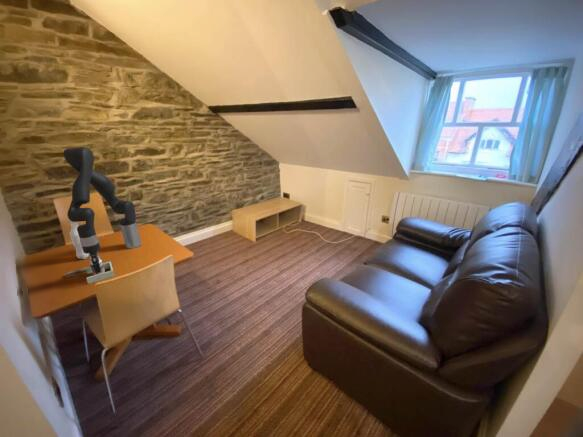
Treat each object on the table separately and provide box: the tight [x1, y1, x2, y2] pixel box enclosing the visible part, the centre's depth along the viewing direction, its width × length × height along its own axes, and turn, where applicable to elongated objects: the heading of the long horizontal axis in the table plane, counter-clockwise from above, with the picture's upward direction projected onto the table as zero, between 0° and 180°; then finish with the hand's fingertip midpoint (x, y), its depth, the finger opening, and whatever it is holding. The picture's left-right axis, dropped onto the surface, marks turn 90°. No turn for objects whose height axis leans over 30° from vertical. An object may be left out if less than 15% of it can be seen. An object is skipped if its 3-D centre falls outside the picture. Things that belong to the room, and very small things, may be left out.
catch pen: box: [85, 261, 116, 284], centre depth 138 cm, size 12×13×4 cm
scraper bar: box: [64, 265, 91, 279], centre depth 139 cm, size 13×6×3 cm, turn 130°
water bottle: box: [69, 221, 90, 260], centre depth 151 cm, size 7×7×25 cm
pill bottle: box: [89, 256, 106, 276], centre depth 136 cm, size 5×5×10 cm
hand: (98, 269), depth 137 cm, fingers closed on pill bottle, 5 cm apart
